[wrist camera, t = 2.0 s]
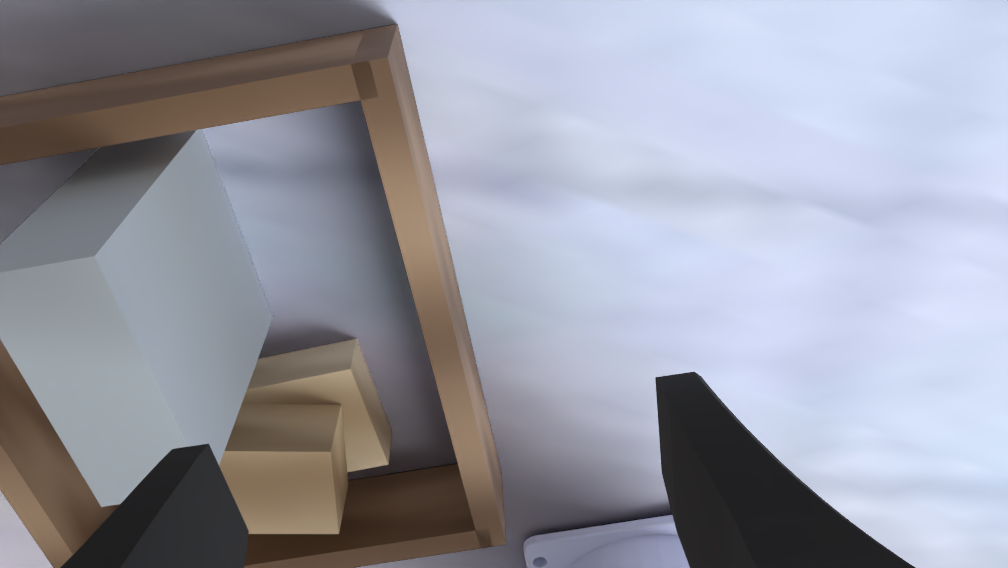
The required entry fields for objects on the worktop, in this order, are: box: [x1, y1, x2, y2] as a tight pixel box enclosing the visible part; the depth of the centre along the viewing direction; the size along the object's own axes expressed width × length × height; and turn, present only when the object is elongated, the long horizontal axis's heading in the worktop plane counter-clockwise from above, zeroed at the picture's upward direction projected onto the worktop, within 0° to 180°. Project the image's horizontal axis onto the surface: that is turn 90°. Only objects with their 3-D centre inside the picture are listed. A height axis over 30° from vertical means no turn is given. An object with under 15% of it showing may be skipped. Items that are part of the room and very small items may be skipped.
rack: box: [0, 24, 506, 568], centre depth 23 cm, size 15×14×3 cm
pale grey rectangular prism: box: [0, 129, 274, 507], centre depth 19 cm, size 6×2×7 cm, turn 10°
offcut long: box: [242, 338, 392, 472], centre depth 25 cm, size 4×7×2 cm, turn 102°
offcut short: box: [219, 404, 348, 534], centre depth 24 cm, size 3×5×2 cm, turn 88°
